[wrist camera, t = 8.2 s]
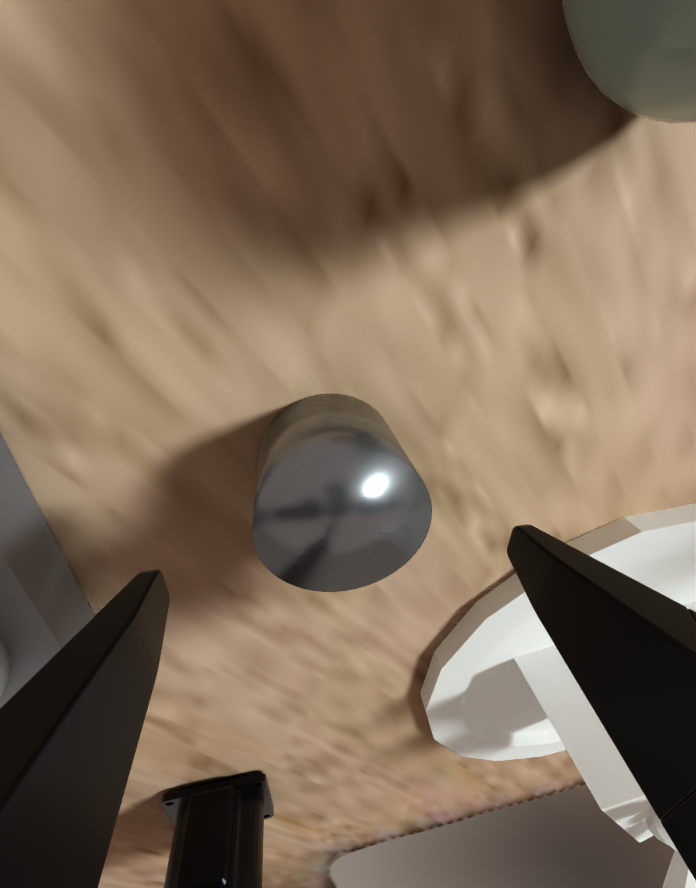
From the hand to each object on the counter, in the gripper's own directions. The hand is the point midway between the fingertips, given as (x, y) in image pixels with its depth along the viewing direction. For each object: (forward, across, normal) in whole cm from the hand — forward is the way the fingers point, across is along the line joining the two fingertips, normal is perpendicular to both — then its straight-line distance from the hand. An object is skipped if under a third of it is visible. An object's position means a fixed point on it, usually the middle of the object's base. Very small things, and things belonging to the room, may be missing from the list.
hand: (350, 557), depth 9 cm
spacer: (+5, 0, 0) cm, 5 cm away
